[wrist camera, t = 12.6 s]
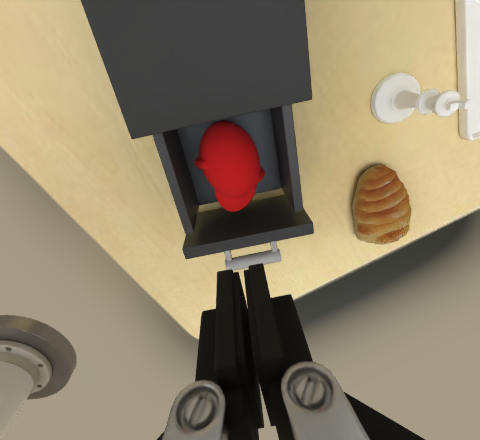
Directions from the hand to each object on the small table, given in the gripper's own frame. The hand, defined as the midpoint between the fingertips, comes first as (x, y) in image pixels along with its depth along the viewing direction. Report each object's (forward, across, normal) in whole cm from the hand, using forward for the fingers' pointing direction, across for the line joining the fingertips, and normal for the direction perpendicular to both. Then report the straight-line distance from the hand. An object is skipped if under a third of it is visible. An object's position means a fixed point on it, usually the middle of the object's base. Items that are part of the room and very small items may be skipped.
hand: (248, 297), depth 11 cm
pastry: (+23, -16, +10) cm, 30 cm away
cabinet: (+23, 0, -12) cm, 26 cm away
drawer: (+22, 0, +2) cm, 22 cm away
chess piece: (+23, -18, -2) cm, 30 cm away
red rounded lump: (+21, 0, 0) cm, 21 cm away
